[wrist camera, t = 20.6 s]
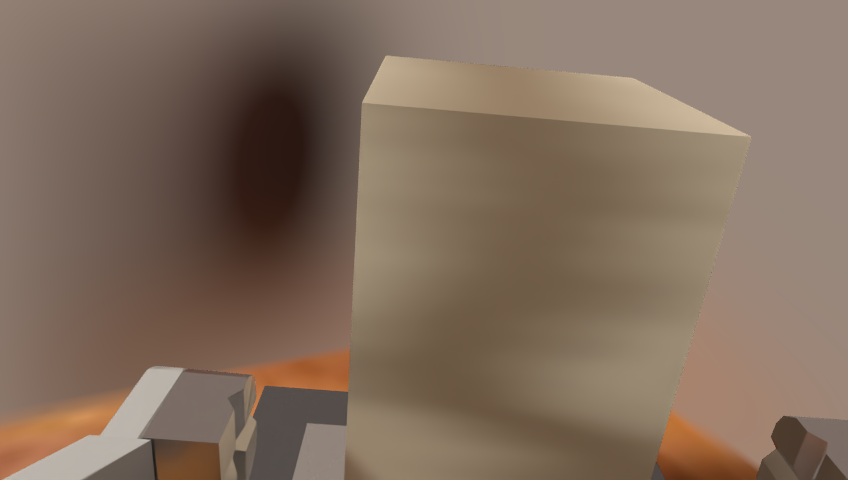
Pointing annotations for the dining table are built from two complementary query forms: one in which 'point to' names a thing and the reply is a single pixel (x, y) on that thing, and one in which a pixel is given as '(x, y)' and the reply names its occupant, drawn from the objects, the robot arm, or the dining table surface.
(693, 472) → the dining table surface
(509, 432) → the birch keyhole peg
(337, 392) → the grey slotted frame
